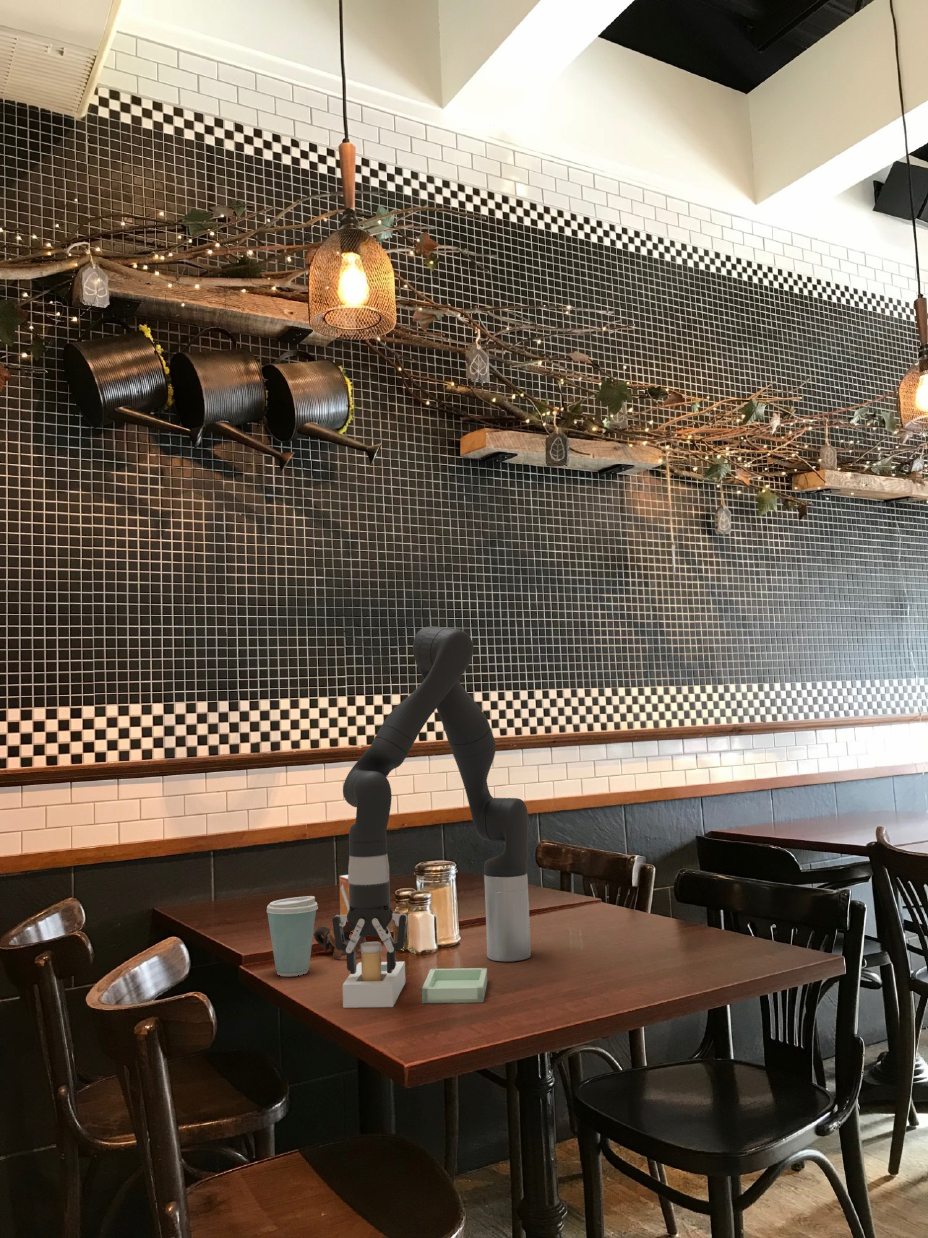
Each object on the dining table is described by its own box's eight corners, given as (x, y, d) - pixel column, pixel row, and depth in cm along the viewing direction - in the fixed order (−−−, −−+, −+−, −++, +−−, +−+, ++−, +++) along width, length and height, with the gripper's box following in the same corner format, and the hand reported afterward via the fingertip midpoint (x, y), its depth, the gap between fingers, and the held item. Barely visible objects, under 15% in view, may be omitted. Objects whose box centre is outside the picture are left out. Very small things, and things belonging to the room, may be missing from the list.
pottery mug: (368, 950, 221) (372, 922, 218) (355, 980, 212) (359, 950, 209) (318, 937, 223) (321, 908, 220) (303, 965, 214) (306, 936, 211)
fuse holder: (359, 983, 191) (359, 962, 192) (405, 982, 191) (404, 961, 191) (343, 1008, 176) (342, 984, 176) (392, 1007, 175) (392, 984, 175)
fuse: (363, 997, 182) (362, 942, 183) (384, 997, 181) (382, 941, 182) (360, 1003, 178) (358, 946, 179) (380, 1003, 178) (379, 946, 179)
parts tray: (431, 982, 190) (430, 969, 191) (487, 981, 190) (487, 968, 190) (422, 1003, 176) (421, 989, 177) (483, 1002, 176) (482, 988, 176)
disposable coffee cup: (259, 980, 197) (258, 903, 198) (276, 966, 208) (275, 894, 209) (310, 980, 196) (309, 902, 197) (325, 966, 206) (323, 893, 208)
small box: (339, 929, 243) (338, 875, 244) (363, 925, 246) (361, 872, 247) (353, 935, 236) (352, 879, 237) (377, 931, 239) (376, 876, 240)
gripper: (410, 875, 185) (413, 967, 183) (335, 877, 186) (337, 968, 184) (404, 882, 178) (407, 977, 176) (326, 884, 179) (328, 979, 177)
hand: (371, 972), depth 180 cm, fingers open, 6 cm apart
